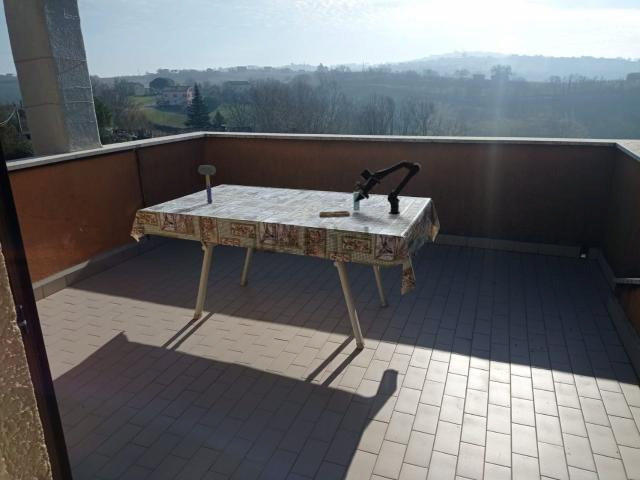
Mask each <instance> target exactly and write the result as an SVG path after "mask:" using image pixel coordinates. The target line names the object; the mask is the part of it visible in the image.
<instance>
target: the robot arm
mask: <svg viewBox="0 0 640 480" xmlns="http://www.w3.org/2000/svg"><path fill="white" fill-rule="evenodd" d="M421 167H422V166H421V164H420V163H417V162H411V161H407V160H402V161H401V162H399V163H396V164H394V165H392V166H390V167H388V168H384V169H381V170H377V171H376V172H371V171H370V170H369V169H368V168H365V169H364V170H363V171H362V172H361V173H360V174H359V176H360V177H361V178H362V179H363V180H364V181H365V183H364V182H359V181H356V183H355V185H354V186H355V187H356V192H359V195H358V197H357V198H356V200H355V202H358V201H363V200H365V199H366V200H368V199H370V195H369V193H370V192H371V191H373V189H374V188H375V187H376V186H377V185H379V186H381V180H382V179H384V178H385V177H387V176H388V175H391V173H394V172H396V171H399V170H400V169H402V168H405V169H407V170H408V173H407V175H406V176H405V177H404V179H403V180H401V182H400V183H399V185H398V186H397V187H396V188H395V189H391V191H390V192H389V193H388V194H387V198H386V200H387V202H388V203H389V205H390V211H389V212H388V214H392V215H398V214H400V213H401V211H400V210H399V209H400V202H401V200H400V199H399V198H398V197H399V195H400V193H401V192H402V191H403V189H404V188H405V186H406V185H407V184H408V183H409V182H410V180H411V179H412V178H413V177H414V176H415V175H417V174H418V173H419V172H420V170H421V169H422V168H421ZM366 181H367V182H366Z"/></svg>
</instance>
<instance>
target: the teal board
mask: <svg viewBox="0 0 640 480" xmlns="http://www.w3.org/2000/svg"><path fill="white" fill-rule="evenodd" d="M358 195H359V192H357V191H353V195H352V197H353V199H352V200H353V203H352V204H353V207H352V208H353V209H352V210H353V212H359V211H360V206H361V205H360V204H361V203H360V201H361V200H360V201H358V202H355V200H356V198H357V197H358Z"/></svg>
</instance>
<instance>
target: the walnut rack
mask: <svg viewBox="0 0 640 480" xmlns="http://www.w3.org/2000/svg"><path fill="white" fill-rule="evenodd" d="M332 211H333V212H334V213H331V214H327V213H328V211H319V217H320V218H331V217H332V218H334V217H350V215H351V214H350V211H349V210H337V211H336V210H335V211H334V210H332Z"/></svg>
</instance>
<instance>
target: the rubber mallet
mask: <svg viewBox="0 0 640 480" xmlns="http://www.w3.org/2000/svg"><path fill="white" fill-rule="evenodd" d="M197 171H198V173H199V174H200V175H203V176H204V175H205V182H206V186H205V188H206V196H207V197H206V198H207V200H206V201H207V203H208V204H212V203H213V198H212V197H213V196H212V187H211V183H210V182H211V181H210V176H213V175H215V174H216V172H217V169H216V167H215V165H210V164H209V165H208V164H205V165H204V164H203V165H199V166H198V169H197Z"/></svg>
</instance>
